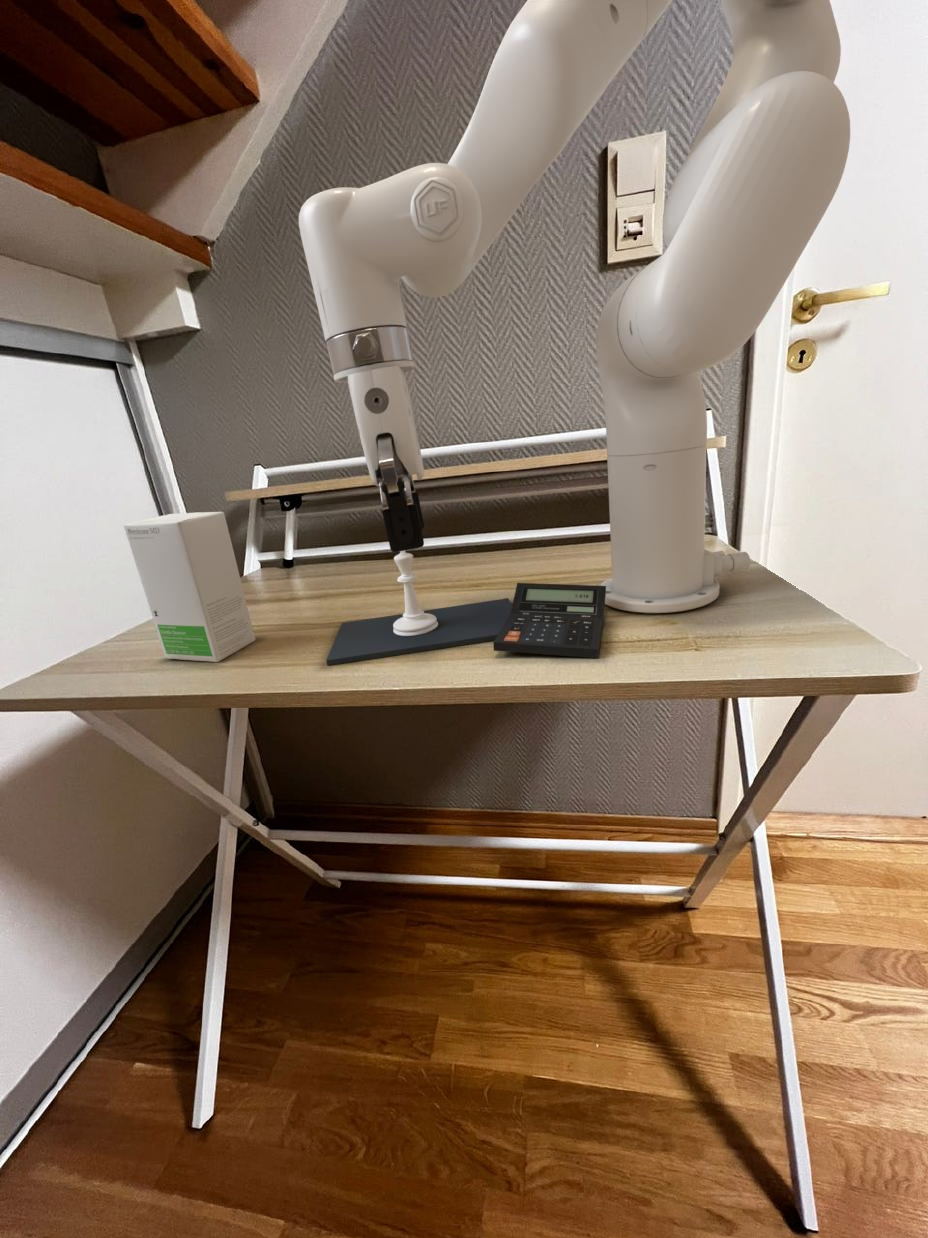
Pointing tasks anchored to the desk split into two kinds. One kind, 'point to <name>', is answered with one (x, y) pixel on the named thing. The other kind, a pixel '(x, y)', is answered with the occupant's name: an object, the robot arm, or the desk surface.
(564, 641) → the calculator
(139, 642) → the desk surface
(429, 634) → the desk mat
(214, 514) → the cosmetic box
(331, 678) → the desk surface
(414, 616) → the chess piece
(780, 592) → the desk surface
